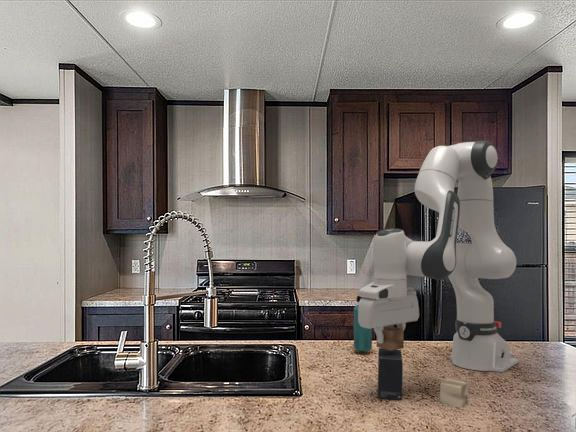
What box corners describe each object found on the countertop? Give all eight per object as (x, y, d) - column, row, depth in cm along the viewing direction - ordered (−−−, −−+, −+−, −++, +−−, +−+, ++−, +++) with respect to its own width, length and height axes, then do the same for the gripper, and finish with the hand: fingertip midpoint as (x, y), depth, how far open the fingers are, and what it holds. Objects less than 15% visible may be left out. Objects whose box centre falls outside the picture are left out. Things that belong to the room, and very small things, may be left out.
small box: (403, 401, 116) (403, 359, 116) (377, 399, 117) (377, 357, 118) (401, 387, 126) (401, 348, 127) (377, 385, 128) (377, 347, 128)
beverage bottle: (373, 355, 158) (373, 297, 159) (354, 355, 158) (354, 297, 159) (370, 350, 165) (370, 294, 165) (352, 350, 165) (352, 294, 165)
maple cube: (447, 397, 118) (447, 378, 119) (467, 402, 115) (467, 382, 115) (440, 403, 115) (440, 383, 115) (460, 408, 111) (460, 387, 112)
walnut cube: (389, 344, 126) (389, 325, 126) (403, 348, 122) (403, 329, 122) (376, 346, 123) (376, 327, 123) (390, 350, 119) (390, 331, 119)
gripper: (406, 285, 131) (406, 333, 131) (354, 290, 120) (354, 344, 119) (424, 287, 126) (424, 338, 126) (371, 293, 114) (371, 349, 114)
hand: (390, 341), depth 122 cm, fingers closed on walnut cube, 5 cm apart
